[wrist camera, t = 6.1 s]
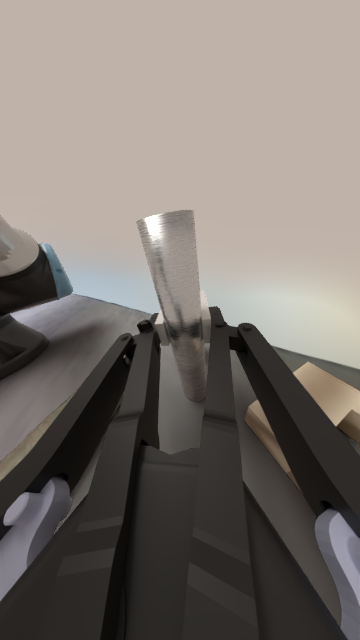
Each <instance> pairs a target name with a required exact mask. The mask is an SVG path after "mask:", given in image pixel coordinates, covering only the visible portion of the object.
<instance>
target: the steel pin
mask: <svg viewBox="0 0 360 640" xmlns="http://www.w3.org/2000/svg"><path fill="white" fill-rule="evenodd" d="M137 226H138V229H139V233H140V237H141V240H142V244H143V247H144V250H145V254H146V258H147V261H148V265H149V268H150V272H151V275H152V279H153V282H154V286H155V290H156V293H157V297H158V300H159V304H160V308H161V311H162V315H163V318H164V322H165V325H166V329H167V332H168V336H169V339H170V343H171V347H172V350H173V354H174V357H175V361H176V364H177V368H178V371H179V375H180V379H181V382H182V386H183V389H184V393H185V395H186V397H187V398H188V399H190V400H192V401H200V400H202V399H204V398H205V396H206V387H207V373H206V361H205V348H204V340H203V329H202V317H201V315H202V311H201V299H200V286H199V274H198V262H197V250H196V237H195V224H194V213H193V211H192V210H181V211H173V212H167V213H163V214H158V215H154V216H150V217H147V218H144V219H141V220H139V221H137Z"/></svg>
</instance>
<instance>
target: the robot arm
mask: <svg viewBox="0 0 360 640" xmlns="http://www.w3.org/2000/svg"><path fill="white" fill-rule="evenodd" d="M72 292H73V288H72V285H71V283H70V281H69V279H68V277H67V275H66V273H65V271H64V269H63V267H62V265H61V263H60V261H59V259H58V257H57V255H56V254H55V252H54V250H53V249H52V247H51V246H50V245H49V244H43V243H40V244H38V243H37V242H36V241H35V240H34V239H33V238H32V237H31V236H30V235H28V234H27V233H25V232H24V231H21V230H19V229H15V228H12V227H11V226H10V225H9V224H8V223H7V222H6V221H5V220H4V219H3V218H2V217H1V216H0V379H1V378H3V377H5V376H7V375H9V374H11V373H12V372H14V371H16V370H18V369H19V368H21V367H23V366H24V365H26V364H27V363H29V362H30V361H31V360H33V359H34V358H35V357H37V356H38V355H39V354H40V353H41V352H42V351H43V350H44V349H45V348H46V347H47V345H48V343H49V340H48V339H47V338H46V337H45V336H44V335H43V334H42V333H40V332H37V331H35V330H34V329H32V328H30V327H28V326H26V325H24V324H21V323H19V322H18V321H16V320H15V319H14V318H13V317H12V316H11V315H10V313H13V312H16V311H20V310H23V309H27V308H30V307H34V306H37V305H41V304H44V303H47V302H51V301H54V300H59V299H60V298H62V297H65V296H68V295H70V294H71V293H72ZM200 299H201V311H202V315H201V317H202V329H203V340H204V343H210V350H209V362H208V375H207V387H206V400H205V411H204V416H203V422H202V433H201V444H200V449H194V448H191V449H188V450H185V451H182V452H179V453H175V454H172V455H169V454H166V453H164V452H162V451H160V450H159V435H158V405H159V379H160V354H161V348H160V342H161V345H162V346H168V345H169V343H170V339H169V336H168V332H167V329H166V325H165V322H164V318H163V315H162V311H161V309H160V312H159V313H154V314H153V315H152V317H151V319H150V320H143V321H141V322H139V323H138V324H137V327H138V329H139V331H140V334H138V335H135V336H132V335H131V334H130V333H125V334H123V335H121V336H120V337H119V338H118V339H117V340H116V341H115V343H114V344H113V345H112V346H111V348H110V349H109V350H108V352H107V353H106V354H105V356H104V357H103V358H102V359H101V361H100V362H99V363H98V365H97V366H96V367H95V368H94V370H93V371H92V372H91V374H90V375H89V376H88V377H87V379H86V380H85V381H84V383H83V384H82V385H81V386H80V388H79V389H78V390H77V392H76V393H75V394H74V395H73V397H72V398H71V399H70V401H69V402H68V403H67V404H66V406H65V407H64V408H63V410H62V411H61V412H60V413H59V415H58V416H57V417H56V419H55V420H54V421H53V422H52V424H51V425H50V426H49V428H48V429H47V430H46V431H45V433H44V434H43V435H42V437H41V438H40V439H39V440H38V442H37V443H36V444H35V446H34V447H33V448H32V449H31V451H30V452H29V453H28V454H27V455H26V456H25V457H24V458H23V459H22V460H21V461H20V462H19V463H18V464H17V465H16V466H15V467H14V468H13V469H12V470H11V471H10V472H9V473H8V474H7V475H6V476H5V477H4V478H3V479H2V480H1V481H0V640H360V456H359V455H358V453H357V452H356V451H355V450H354V448H353V447H352V446H351V445H350V443H349V442H348V441H347V440H346V438H345V437H344V436H343V435H342V433H341V432H340V431H339V430H338V429H337V427H336V426H335V425H334V424H333V422H332V421H331V420H330V419H329V417H328V416H327V415H326V414H325V412H324V411H323V410H322V409H321V407H320V406H319V405H318V404H317V402H316V401H315V400H314V399H313V397H312V396H311V395H310V394H309V392H308V391H307V390H306V389H305V388H304V386H303V385H302V384H301V383H300V381H299V380H298V379H297V378H296V376H295V375H294V374H293V373H292V371H291V370H290V369H289V368H288V366H287V365H286V364H285V363H284V361H283V360H282V359H281V358H280V356H279V355H278V354H277V353H276V351H275V350H274V349H273V348H272V347H271V345H270V344H269V343H268V342H267V340H266V339H265V338H264V337H263V335H262V334H261V333H260V332H259V330H258V329H257V328H256V327H255V326H254V325H252V324H250V323H241V324H239V325H238V327H232V326H229V325H227V323H226V322H225V321H224V319H223V316H222V314H221V311H220V308H218V307H217V306H216V307H208V303H207V299H206V295H205V290H200ZM230 350H235V351H236V353H237V356H238V358H239V360H240V362H241V364H242V366H243V368H244V371H245V373H246V375H247V377H248V379H249V381H250V384H251V386H252V388H253V390H254V392H255V394H256V397H257V399H258V401H259V403H260V405H261V407H262V409H263V412H264V414H265V416H266V418H267V420H268V422H269V425H270V427H271V429H272V431H273V433H274V435H275V437H276V440H277V442H278V444H279V446H280V448H281V450H282V453H283V455H284V457H285V459H286V461H287V463H288V465H289V468H290V470H291V472H292V474H293V476H294V478H295V480H296V482H297V484H298V486H299V488H300V489H301V491H302V493H303V495H304V496H305V498H306V500H307V501H308V503H309V505H310V507H311V508H312V510H313V512H314V513H315V515H316V516H317V520H316V522H315V535H316V540H317V543H318V546H319V549H320V552H321V554H322V556H323V558H324V560H325V562H326V564H327V567H328V569H329V571H330V573H331V575H332V577H333V579H334V582H335V585H336V588H337V591H338V594H339V598H340V604H341V609H342V619H341V626H340V627H339V625H338V624H337V622H336V621H335V619H334V618H333V616H332V615H331V613H330V612H329V610H328V609H327V607H326V606H325V604H324V603H323V601H322V600H321V598H320V596H319V595H318V593H317V592H316V590H315V589H314V587H313V586H312V584H311V583H310V581H309V580H308V578H307V577H306V575H305V574H304V572H303V571H302V569H301V568H300V566H299V565H298V563H297V562H296V560H295V559H294V557H293V556H292V554H291V552H290V551H289V549H288V548H287V546H286V545H285V543H284V542H283V540H282V539H281V537H280V536H279V534H278V533H277V531H276V530H275V528H274V527H273V525H272V524H271V522H270V521H269V519H268V518H267V516H266V515H265V513H264V511H263V510H262V508H261V507H260V505H259V504H258V502H257V501H256V499H255V498H254V496H253V495H252V493H251V492H250V490H249V489H248V487H247V486H246V484H245V483H244V481H243V479H242V468H241V457H240V446H239V435H238V427H237V422H236V418H235V407H234V395H233V383H232V371H231V359H230ZM124 355H126V356H125V358H123V357H124ZM124 390H125V391H124ZM123 392H124V395H123V399H122V402H121V406H120V410H119V413H118V416H117V417H116V418H115V419H113V420H112V421H111V423H110V424H109V427H108V429H107V433H106V436H105V439H104V443H103V446H102V449H101V453H100V456H99V459H98V463H97V466H96V469H95V473H94V476H93V479H92V483H91V486H90V489H89V493H88V494H87V495H86V496H85V498H84V499H83V500H82V501H81V502H80V504H79V505H78V506H77V507H76V509H75V510H74V511H73V512H72V514H71V515H70V516H69V517H68V518H67V520H66V521H65V522H64V523H63V525H62V526H61V527H60V528H59V530H58V531H57V532H56V533H55V534H54V532H55V529H56V527H57V525H58V523H59V521H62V520H63V519H64V518H65V517H66V515H67V514H68V512H69V511H70V508H71V506H72V497H70V493H71V492H72V490H73V489H74V487H75V486H76V484H77V483H78V481H79V480H80V478H81V476H82V474H83V473H84V471H85V469H86V468H87V466H88V464H89V462H90V460H91V458H92V456H93V454H94V452H95V450H96V448H97V446H98V444H99V442H100V440H101V438H102V436H103V434H104V431H105V429H106V427H107V425H108V423H109V421H110V419H111V417H112V415H113V413H114V411H115V409H116V407H117V405H118V402H119V400H120V398H121V396H122V394H123ZM53 534H54V536H53Z"/></svg>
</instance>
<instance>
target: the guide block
mask: <svg viewBox="0 0 360 640" xmlns="http://www.w3.org/2000/svg"><path fill="white" fill-rule="evenodd" d="M293 374H294V375H295V376H296V378H297V379H298V380H299V381H300V383H301V384H302V385H303V386H304V388H305V389H306V390H307V391H308V392H309V394H310V395H311V396H312V397H313V399H314V400H315V401H316V402H317V404H318V405H319V406H320V407H321V409H322V410H323V411H324V412H325V414H326V415H327V416H328V417H329V419H330V420H331V421H332V422H333V424H334V425H335V426H337V427H338V428H339V429H340V430H342V431H343V432H344V433H345V434H347V435H348V436H349V437H350V438H352V439H353V440H354V441H356V442H357V443H358V444H359V445H360V391H358V390H356V389H355V388H353V387H351V386H349V385H348V384H346V383H344V382H342V381H341V380H339V379H337V378H335V377H334V376H332V375H330V374H329V373H327V372H325V371H323V370H322V369H320V368H318V367H316V366H315V365H313V364H311V363H309V362H307V363H306V364H304V365H303V366H302V367H300V368H299V369H298V370H296V371H295V372H294V373H293ZM245 421H246V422H247V424H248V425H249V426H250V427H251V429H252V430H253V431H254V432H255V434H256V435H257V436H258V438H259V439H260V440H261V441H262V443H263V444H264V445H265V447H266V448H267V449H268V450H269V452H270V453H271V454H272V456H273V457H274V458H275V459H276V461H277V462H278V463H279V464H280V466H281V467H282V468H283V470H284V471H285V472H286V473H287V475H288V476H289V477H290V479H291V480H292V481H293V482H294V484H295V485H296V486H297V488H298V489H299V490H300V491H301V489H300V488H299V486H298V484H297V482H296V480H295V478H294V476H293V474H292V472H291V470H290V468H289V465H288V463H287V461H286V459H285V457H284V455H283V453H282V450H281V448H280V446H279V444H278V442H277V440H276V437H275V435H274V433H273V431H272V429H271V427H270V425H269V422H268V420H267V418H266V416H265V414H264V412H263V409H262V407H261V405H260V403H259V401H258V400H256V401H255V402H254V403H252V404H251V405H250V406H248V410H247V413H246V416H245ZM301 493H302V491H301ZM302 494H303V493H302Z"/></svg>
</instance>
